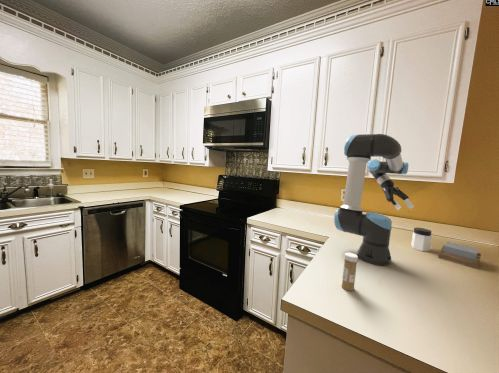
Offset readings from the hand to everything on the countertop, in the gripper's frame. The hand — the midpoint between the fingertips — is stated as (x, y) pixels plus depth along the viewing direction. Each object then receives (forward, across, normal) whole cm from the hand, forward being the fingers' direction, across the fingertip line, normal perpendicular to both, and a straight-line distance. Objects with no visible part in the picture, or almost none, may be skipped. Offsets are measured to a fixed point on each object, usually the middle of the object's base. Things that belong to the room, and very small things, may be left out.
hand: (406, 208), depth 135 cm
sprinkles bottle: (+33, +79, +2) cm, 85 cm away
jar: (+24, 0, -8) cm, 25 cm away
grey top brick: (+32, -4, +6) cm, 33 cm away
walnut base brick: (+35, -4, +4) cm, 35 cm away
